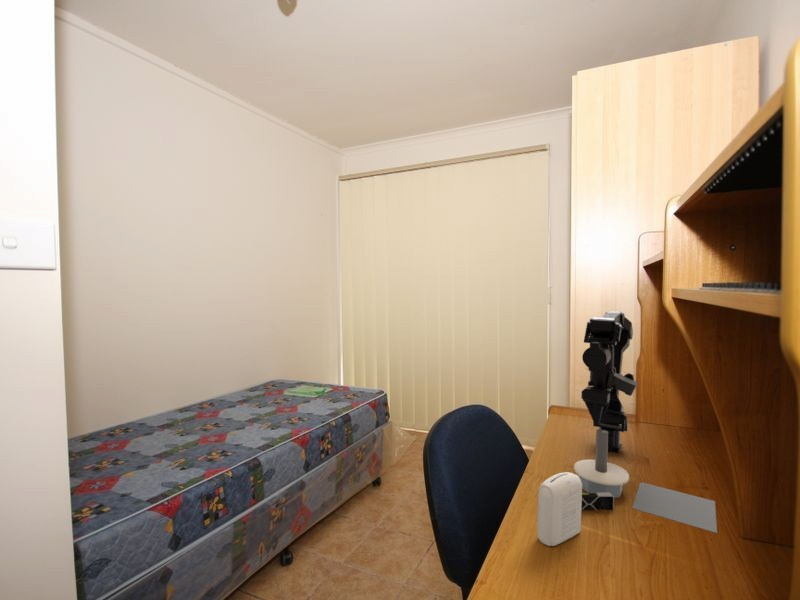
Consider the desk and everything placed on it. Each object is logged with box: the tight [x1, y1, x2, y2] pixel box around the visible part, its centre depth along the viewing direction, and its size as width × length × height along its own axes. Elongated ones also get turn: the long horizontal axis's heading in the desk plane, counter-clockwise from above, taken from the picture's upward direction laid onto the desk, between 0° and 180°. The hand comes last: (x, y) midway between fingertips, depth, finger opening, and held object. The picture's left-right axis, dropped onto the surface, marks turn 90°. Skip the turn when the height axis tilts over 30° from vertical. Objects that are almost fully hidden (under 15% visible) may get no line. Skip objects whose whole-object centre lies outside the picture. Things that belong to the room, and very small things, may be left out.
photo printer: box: [536, 471, 583, 547], centre depth 82 cm, size 10×4×12 cm, turn 123°
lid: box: [573, 429, 630, 486], centre depth 100 cm, size 12×12×10 cm
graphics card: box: [581, 492, 615, 511], centre depth 91 cm, size 12×3×5 cm, turn 93°
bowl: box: [578, 475, 623, 499], centre depth 100 cm, size 9×9×4 cm
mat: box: [632, 481, 718, 534], centre depth 93 cm, size 15×15×1 cm
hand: (600, 419), depth 113 cm, fingers open, 9 cm apart
